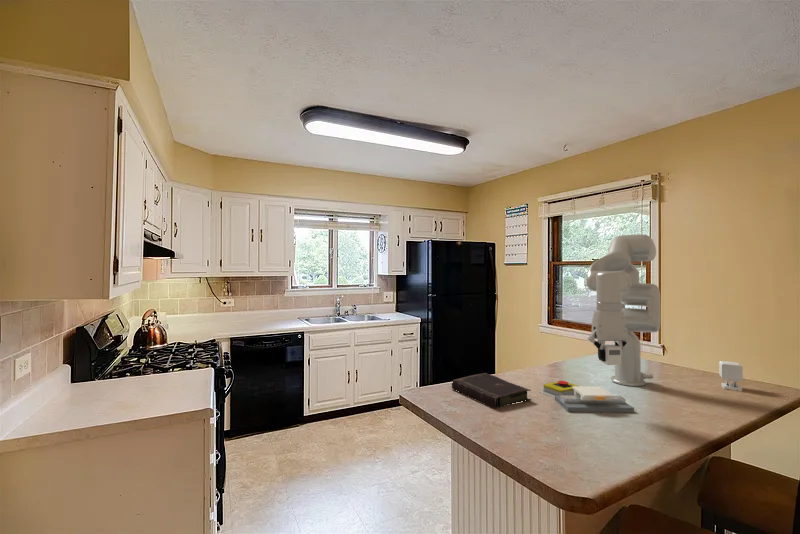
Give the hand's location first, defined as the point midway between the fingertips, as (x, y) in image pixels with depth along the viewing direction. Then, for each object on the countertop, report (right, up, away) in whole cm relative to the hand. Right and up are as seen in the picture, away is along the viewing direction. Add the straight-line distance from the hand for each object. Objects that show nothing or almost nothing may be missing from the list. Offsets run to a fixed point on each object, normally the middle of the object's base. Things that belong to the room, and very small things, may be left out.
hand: (609, 359), depth 130 cm
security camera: (+62, -17, +23) cm, 68 cm away
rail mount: (-4, -17, +4) cm, 18 cm away
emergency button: (-9, -18, +19) cm, 28 cm away
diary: (-37, -18, +16) cm, 45 cm away
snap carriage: (-4, -14, +3) cm, 15 cm away
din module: (0, -1, 0) cm, 1 cm away
